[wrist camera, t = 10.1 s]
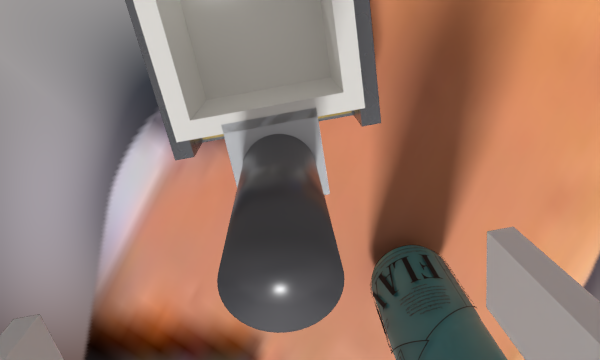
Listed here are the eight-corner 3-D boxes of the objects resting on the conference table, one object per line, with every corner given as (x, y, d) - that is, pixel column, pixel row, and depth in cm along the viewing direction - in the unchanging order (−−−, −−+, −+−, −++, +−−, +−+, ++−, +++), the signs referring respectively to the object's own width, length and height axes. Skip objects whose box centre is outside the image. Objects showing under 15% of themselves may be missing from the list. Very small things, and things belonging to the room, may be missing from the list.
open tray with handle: (214, 177, 28) (146, 356, 14) (149, -57, 23) (-88, -184, 8) (354, 151, 28) (440, 305, 13) (324, -90, 22) (414, -284, 8)
